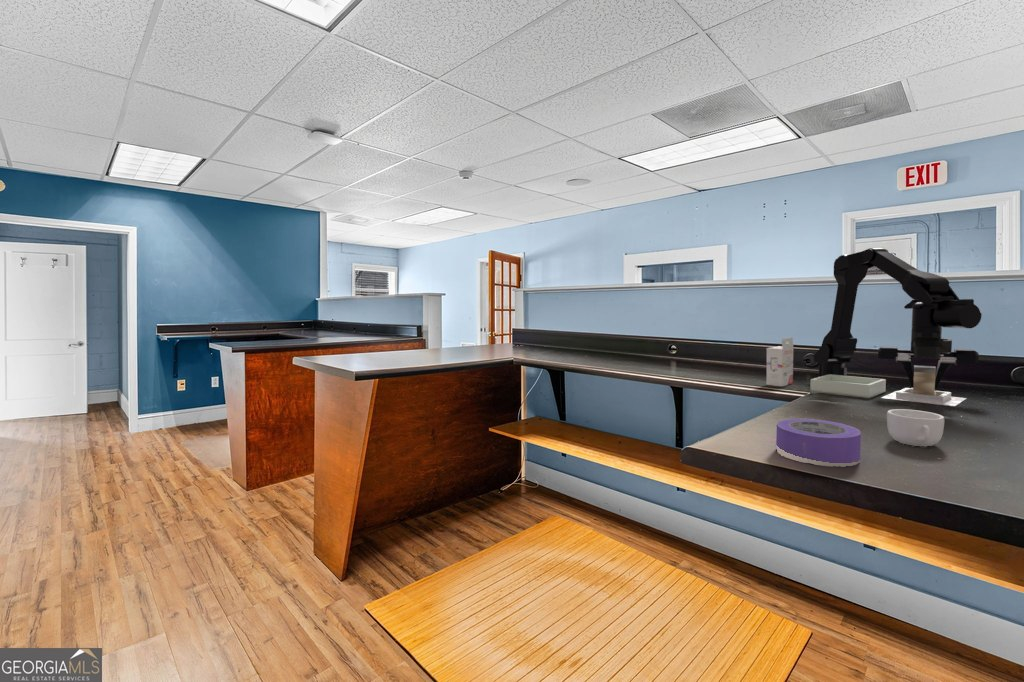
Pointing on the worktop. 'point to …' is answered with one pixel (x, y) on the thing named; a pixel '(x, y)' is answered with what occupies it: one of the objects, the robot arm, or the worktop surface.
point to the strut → (924, 380)
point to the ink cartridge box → (780, 364)
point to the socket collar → (925, 397)
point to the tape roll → (819, 440)
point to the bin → (848, 386)
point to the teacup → (915, 427)
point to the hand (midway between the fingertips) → (923, 387)
